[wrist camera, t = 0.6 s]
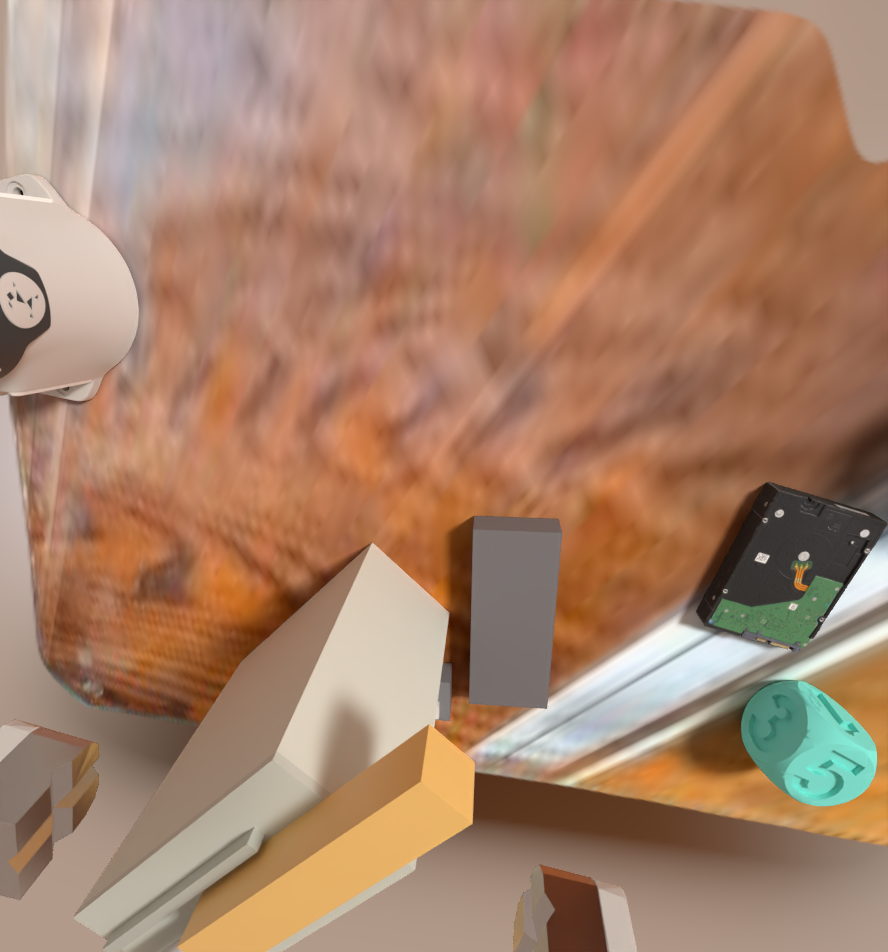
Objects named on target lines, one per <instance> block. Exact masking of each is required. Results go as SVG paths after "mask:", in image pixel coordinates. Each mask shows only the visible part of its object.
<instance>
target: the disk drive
mask: <svg viewBox="0 0 888 952" xmlns="http://www.w3.org/2000/svg"><path fill="white" fill-rule="evenodd" d="M886 526H887V523H886V522H885V521H883V520H882V519H880V518H879V517H877V516H875V515H874V514H872V513H869V512H866V511H863V510H860V509H856V508H853V507H850V506H847V505H844V504H840V503H837V502H834V501H830V500H828V499H824V498H821V497H817V496H814V495H811V494H808V493H804V492H801V491H798V490H795V489H791V488H788V487H784V486H780V485H777V484H774V483H771V482H767V483H766V484H765V487H764V488H763V490H762V491H761V494H760V495H759V496H758V498H757V499H756V501H755V503H754V505H753V507H752V510H751V512H750V514H749V516H748V517H747V519H746V521H745V523H744V525H743V527H742V528H741V530H740V532H739V534H738V536H737V537H736V539H735V541H734V543H733V545H732V547H731V549H730V550H729V553H728V554H727V556H726V557H725V560H724V562H723V563H722V565H721V567H720V569H719V571H718V572H717V574H716V576H715V578H714V580H713V582H712V583H711V585H710V586H709V588H708V589H707V591H706V593H705V595H704V598H703V600H702V601H701V603H700V605H699V606H698V609H697V611H696V613H697V614H698V616H699V618H700V620H701V621H702V623H703V624H704V626H707V627H710V628H714V629H717V630H720V631H724V632H727V633H730V634H734V635H737V636H740V635H741V637H743V638H745V639H749V640H753V641H755V639H756V640H757V641H761V642H764V643H767V642H769V643H768V644H771V645H775V646H778V647H781V648H785V649H791V650H792V652H797V653H799V651H800V649H801V647H803V648H805V647H806V646H807V645H808V643H809V641H810V639H813V638H814V637H815V635H816V634H817V632H818V631H819V630H820V627H821V625H822V624H823V622H824V620H825V619H826V618H827V616H828V615H829V613H830V612H831V610H832V609H833V607H834V606H835V604H836V603H837V601H838V600H839V598H840V597H841V595H842V594H843V592H844V591H845V589H846V588H847V586H848V584H849V583H850V582H851V580H852V579H853V577H854V575H855V574H856V572H857V571H858V569H859V568H860V566H861V565H862V563H863V562H864V560H865V559H866V557H867V556H868V554H869V553H870V551H871V550H872V548H873V547H874V546H875V545H876V543H877V541H878V539H879V538H880V536H881V534H882V533H883V530H884V529H885V527H886Z"/></svg>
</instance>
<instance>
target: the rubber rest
mask: <svg viewBox="0 0 888 952" xmlns="http://www.w3.org/2000/svg"><path fill="white" fill-rule="evenodd" d="M561 540H562V531H561V527H560V523H559V520H558V519H544V518H517V517H491V516H474V524H473V553H472V598H471V642H470V686H469V704H484V705H499V706H515V707H530V708H545V709H547V703H548V691H549V679H550V668H551V656H552V644H553V633H554V621H555V609H556V598H557V586H558V575H559V563H560V551H561Z"/></svg>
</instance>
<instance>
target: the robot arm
mask: <svg viewBox="0 0 888 952" xmlns="http://www.w3.org/2000/svg"><path fill="white" fill-rule="evenodd" d="M21 190H22V191H23V195H21V194H20V192H21ZM138 318H139V307H138V298H137V293H136V289H135V285H134V282H133V279H132V276H131V274H130V271H129V269H128V267H127V265H126V263H125V261H124V259H123V258H122V256H121V255H120V253H119V252H118V250H117V249H116V247H115V246H114V245H113V244H112V242H111V241H110V240H109V239H108V238H107V237H106V236H105V235H104V234H103V233H102V232H101V231H100V230H99V229H98V228H97V227H96V226H94V225H93V224H92V223H90V222H89V221H88V220H86V219H85V218H83V217H82V216H80V215H79V214H77V213H76V212H74V211H73V210H72V209H70V208H69V207H68V206H67V205H66V204H65V203H64V201H63V200H62V199H61V197H60V196H59V195H58V194H57V192H56V191H55V190H54V188H53V187H52V186H51V185H50V184H49V183H48V182H47V181H46V180H45V179H44V178H42V177H41V176H39V175H33V174H21V175H18V176H14V177H10V178H7V179H3V180H0V395H6V394H8V393H9V394H10V395H11V396H23V395H29V394H34V393H41V394H45V395H50V396H55V397H59V398H64V399H68V400H73V401H87V400H90V399H92V398H93V397H94V396H95V394H96V393H97V391H98V389H99V386H100V384H101V381H102V379H103V377H104V375H105V374H106V373H107V372H108V371H109V370H110V369H112V368H113V367H114V366H115V365H117V364H118V363H119V362H120V361H121V360H122V359H123V358H124V357H125V355H126V354H127V353H128V351H129V349H130V348H131V346H132V343H133V341H134V338H135V335H136V332H137V327H138ZM68 387H70V388H68ZM98 758H99V744H98V743H94V742H91V741H88V740H84V739H81V738H77V737H74V736H70V735H67V734H64V733H60V732H56V731H53V730H50V729H47V728H44V727H41V726H37V725H34V724H30V723H27V722H23V721H19V720H16V719H15V720H12V721H10V722H8V723H6V724H4V725H3V726H1V727H0V895H1V896H5V897H9V898H13V899H18V900H20V899H21V898H22V897H23V896H24V894H25V893H26V892H27V891H28V889H29V888H30V887H31V885H32V884H33V883H34V882H35V880H36V879H37V878H38V876H39V875H40V874H41V872H42V871H43V870H44V869H45V867H46V866H47V865H48V864H49V862H50V861H51V860H52V857H53V846H54V843H55V842H57V841H58V840H60V839H62V838H64V837H66V836H68V835H69V834H71V833H73V831H74V830H75V829H76V828H77V826H78V825H79V824H80V822H81V821H82V819H83V818H84V817H85V815H86V813H87V811H88V810H89V808H90V806H91V804H92V802H93V800H94V798H95V795H96V792H97V788H98V783H99V774H98V773H97V772H96V770H95V769H94V767H93V766H92V765H93V764H94V763H95V761H96V760H97V759H98ZM513 941H514V942H513V944H514V945H513V946H514V952H637V948H636V943H635V938H634V933H633V929H632V924H631V919H630V914H629V909H628V905H627V900H626V895H625V893H624V892H623V890H622V888H621V887H619V886H617V885H613V884H609V883H604V882H601V881H597V880H593V879H591V878H590V877H586V876H582V875H578V874H574V873H570V872H566V871H562V870H559V869H555V868H551V867H547V866H543V865H538V866H536V867H535V868H534V870H533V873H532V874H531V889H529V890H527V891H525V892H523V894H522V896H521V899H520V901H519V903H518V907H517V912H516V918H515V922H514V937H513Z"/></svg>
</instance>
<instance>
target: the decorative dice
mask: <svg viewBox="0 0 888 952" xmlns="http://www.w3.org/2000/svg"><path fill="white" fill-rule="evenodd" d="M741 733H742V740H743V744H744V746H745V748H746V750H747V752H748V753H749V755H750V756H751V758H752V759H753V761H754V762H755V763H756V765H757V766H758V767H759V768H760V769H761V771H762V772H763V773H764V774H765V775H766V776H767V777H768V778H769V779H770V780H771V781H772V782H773V783H774V784H775V785H776V786H777V787H779V788H780V789H781V790H782V791H784V792H785V793H786V794H788V795H789V796H791V797H792V798H794V799H795V800H797V801H799V802H802V803H805V804H809V805H814V806H833V805H838V804H842V803H845V802H848V801H850V800H852V799H854V798H856V797H857V796H859V795H860V794H862V793H863V792H864V791H865V790H866V789H867V788H868V787H869V785H870V784H871V782H872V780H873V777H874V775H875V771H876V765H877V752H876V746H875V744H874V742H873V740H872V739H871V737H870V736H869V734H868V733H867V732H866V731H865V730H864V728H863V727H862V726H861V725H860V724H859V723H858V722H857V721H856V720H855V719H854V718H853V717H852V716H851V715H850V714H849V713H848V712H847V711H846V710H845V709H844V708H842V707H841V706H840V705H839V704H838V703H837V702H835V701H834V700H833V699H832V698H830V697H829V696H828V695H826V694H825V693H823V692H822V691H820V690H819V689H817V688H816V687H814V686H812V685H810V684H808V683H806V682H803V681H782V682H777V683H774V684H771V685H768V686H766V687H764V688H763V689H761V690H760V691H758V692H757V693H756V694H755V695H754V696H753V697H752V698H751V699H750V701H749V702H748V704H747V706H746V708H745V710H744V713H743V716H742V722H741Z"/></svg>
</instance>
